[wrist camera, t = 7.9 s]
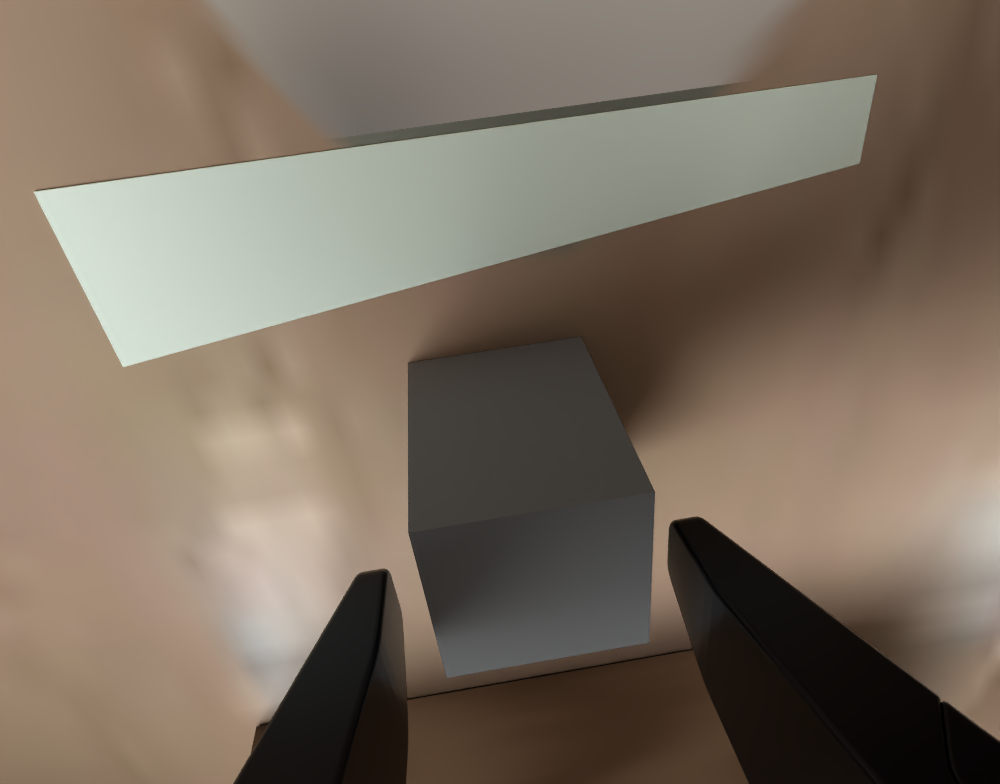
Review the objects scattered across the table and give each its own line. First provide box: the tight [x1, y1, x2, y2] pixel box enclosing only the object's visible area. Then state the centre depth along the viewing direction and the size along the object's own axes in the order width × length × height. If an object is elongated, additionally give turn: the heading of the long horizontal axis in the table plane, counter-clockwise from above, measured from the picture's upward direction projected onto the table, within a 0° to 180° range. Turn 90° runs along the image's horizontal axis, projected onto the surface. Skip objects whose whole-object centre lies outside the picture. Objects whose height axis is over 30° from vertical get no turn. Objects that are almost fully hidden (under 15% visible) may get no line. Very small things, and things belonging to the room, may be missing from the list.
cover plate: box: [34, 75, 877, 678], centre depth 11 cm, size 12×10×5 cm
